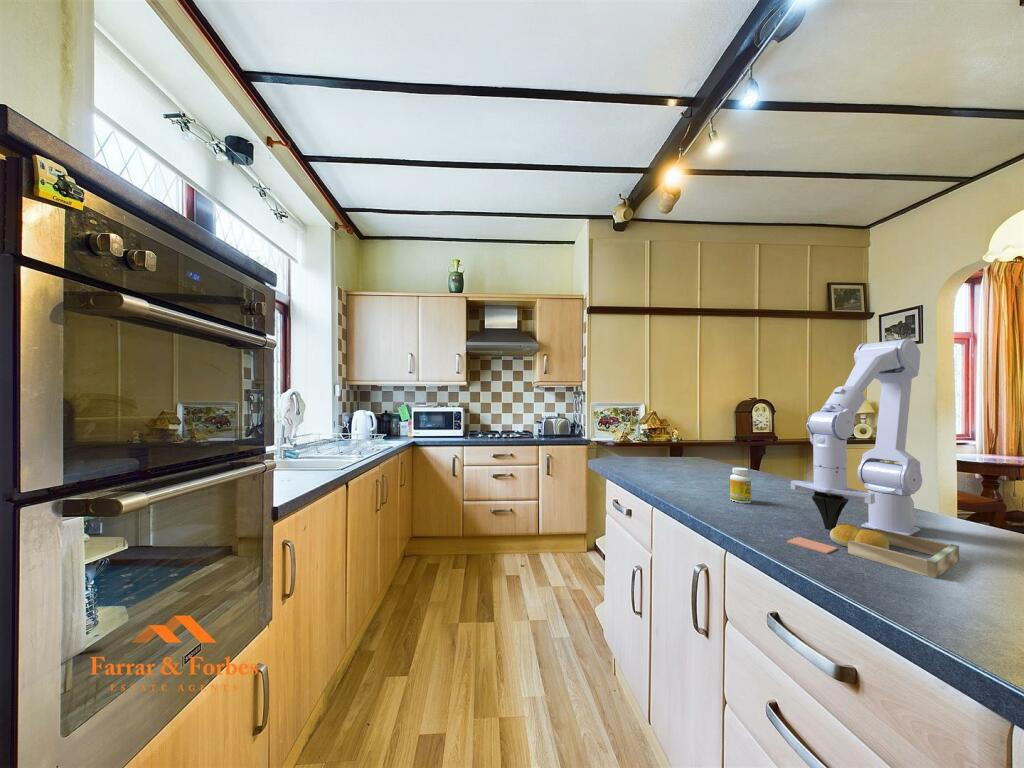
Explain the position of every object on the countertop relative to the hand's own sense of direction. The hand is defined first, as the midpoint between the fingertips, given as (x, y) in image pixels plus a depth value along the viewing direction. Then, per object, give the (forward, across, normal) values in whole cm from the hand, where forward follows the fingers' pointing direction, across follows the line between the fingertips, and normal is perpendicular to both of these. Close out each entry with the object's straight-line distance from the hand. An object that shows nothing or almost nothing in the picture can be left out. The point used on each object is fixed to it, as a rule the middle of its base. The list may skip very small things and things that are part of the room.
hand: (830, 529), depth 86 cm
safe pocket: (+2, +12, 0) cm, 12 cm away
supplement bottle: (+2, -26, +13) cm, 30 cm away
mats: (+2, 0, 0) cm, 2 cm away
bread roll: (+2, +5, 0) cm, 5 cm away
